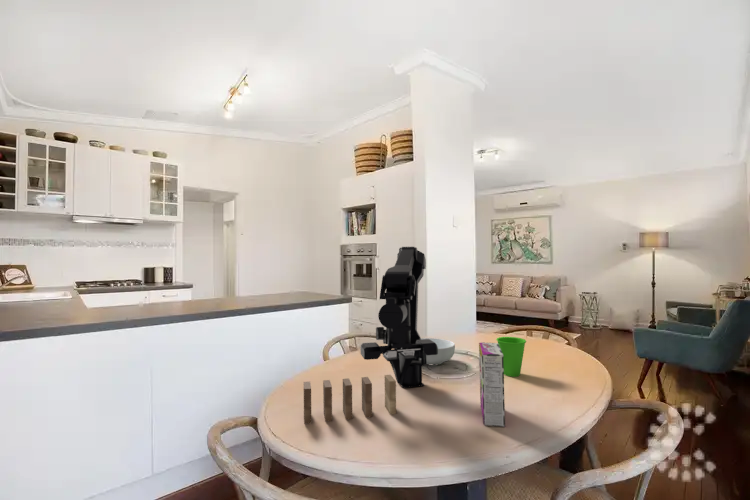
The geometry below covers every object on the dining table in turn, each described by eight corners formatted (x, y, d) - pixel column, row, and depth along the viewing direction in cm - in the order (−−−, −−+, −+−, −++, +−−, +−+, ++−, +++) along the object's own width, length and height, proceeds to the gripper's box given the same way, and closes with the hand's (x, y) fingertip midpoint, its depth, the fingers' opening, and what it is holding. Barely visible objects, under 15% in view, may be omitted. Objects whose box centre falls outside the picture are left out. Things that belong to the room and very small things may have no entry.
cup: (495, 377, 120) (495, 341, 120) (497, 368, 128) (497, 335, 128) (526, 380, 116) (526, 344, 116) (526, 371, 125) (526, 337, 125)
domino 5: (390, 405, 98) (390, 374, 98) (396, 413, 93) (395, 381, 93) (384, 406, 98) (384, 375, 98) (389, 414, 93) (389, 381, 93)
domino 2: (330, 412, 95) (329, 379, 95) (332, 420, 90) (331, 386, 90) (323, 412, 94) (323, 380, 94) (325, 421, 89) (324, 387, 90)
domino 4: (368, 408, 97) (367, 376, 97) (372, 416, 92) (371, 383, 92) (361, 409, 96) (361, 377, 96) (365, 417, 92) (365, 383, 92)
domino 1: (310, 414, 94) (310, 381, 94) (311, 423, 89) (311, 388, 89) (303, 414, 93) (303, 381, 93) (304, 423, 88) (304, 389, 89)
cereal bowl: (459, 369, 128) (459, 348, 128) (409, 369, 128) (409, 348, 128) (450, 355, 145) (450, 336, 145) (406, 355, 145) (406, 337, 145)
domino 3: (349, 410, 96) (349, 378, 96) (352, 418, 91) (352, 385, 91) (342, 411, 95) (342, 378, 95) (345, 419, 90) (345, 385, 91)
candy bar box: (479, 406, 97) (478, 341, 97) (499, 407, 96) (498, 342, 96) (482, 426, 86) (481, 353, 86) (505, 428, 85) (504, 354, 85)
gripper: (423, 314, 106) (423, 370, 106) (356, 317, 102) (356, 376, 102) (438, 321, 95) (439, 384, 95) (364, 325, 91) (365, 390, 91)
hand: (399, 383), depth 96 cm, fingers closed
